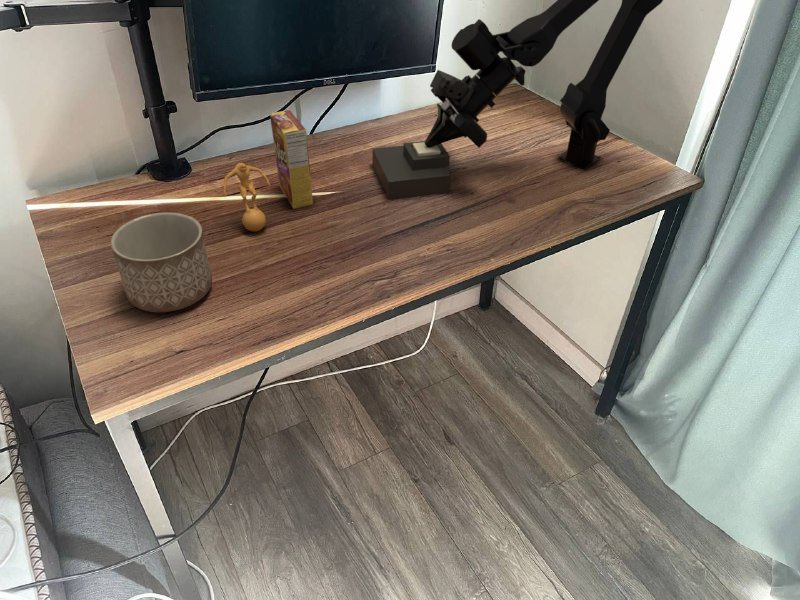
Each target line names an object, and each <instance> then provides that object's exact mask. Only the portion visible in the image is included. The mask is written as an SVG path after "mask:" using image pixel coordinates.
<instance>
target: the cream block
mask: <svg viewBox="0 0 800 600" xmlns="http://www.w3.org/2000/svg"><path fill="white" fill-rule="evenodd" d="M413 150H414V151H415V153H416V155H417V157H418V156H428V155H438V154H440V153H441V151H440V150H439V148H438V146H437V145H436V146H433V147H430V148H428V147H427V146H426V145H425V142H422V143H413Z"/></svg>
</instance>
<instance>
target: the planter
mask: <svg viewBox="0 0 800 600" xmlns="http://www.w3.org/2000/svg"><path fill="white" fill-rule="evenodd" d="M110 247H111V250H112V253H113V254H112V255H113V256H114V261H115V263H116V266H117V270H118V274H119V276H120V279H121V282H122V286H123V289H124V292H125V295H126V298H127V300H128V301H129V302H130V304H132V305H133V306H134V307H135V308H137V309H139V310H142V311H145V312H150V313H167V312H168V313H169V312H174V311H180V310H183V309H186V308H188V307H190V306H193V305H195V304H196V303H197V302H199V301H200V300H202V299H203V298H204V297H205V296H206V295H207V293H209V291H210V289H211V287H212V283H213V277H212V272H211V267H210V262H209V257H208V253H207V247H206V243H205V237H204V232H203V228H202V225H201V223H200V222H199V220H197V219H195V218H194V217H192V216H190V215H187V214H183V213H181V212H180V213H179V212H156V213H150V214H146V215H142V216H138V217H136V218H133V219H131V220H129V221H127V222H125V223H124V224H123V225H121V226H120V227H119V228H118V229H117V230H115V231H114V233H113V235H112V236H111V239H110Z"/></svg>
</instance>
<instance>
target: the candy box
mask: <svg viewBox="0 0 800 600" xmlns="http://www.w3.org/2000/svg"><path fill="white" fill-rule="evenodd" d="M269 119H270V126H271V133H272V139H273V140H272V141H273V147H274V148H273V149H274V155H275V156H274V157H275V163H276V170H277V177H278V184H279V188H280V190H281V191H282V193H283V194H284V196H285V197H286V199H287V201H288V202H289V204H290V205H291V207H292V209H293V210H297V209H300V208H304V207H308V206H309V207H311V206H313V205H314V200H313V199H314V198H313V188H312V178H311V177H312V176H311V167H310V165H311V164H310V155H309V146H308V135H307V129H306V127H305V126H304V125H303V124H302V123H301V122H300V120H298V118H297V117H296V116H295V115H294V113H293V112H292V110H291V109H287V110H282V111H276V112H272V113H269Z"/></svg>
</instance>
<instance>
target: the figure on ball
mask: <svg viewBox="0 0 800 600" xmlns="http://www.w3.org/2000/svg"><path fill="white" fill-rule="evenodd" d="M251 172H258V173H259V174H260V175H261V177H262V178H263V179H264V180H266V183H267V184H268V186H269V187H270V186H271V183H270V179H268V177H267V176H266V175H265V174H264V173H263V171H262V170H261V168H258V167H255V166H252V165H246V163H243V162H238V163H236V165H235V166H234V168H233V169H232V170H231V171H230V172H229V173H228V174H226V175H225V176H224V179H223V191H222V195H223V197H225V198H227V195H228V193H227V191H226V190H227V187H228V179H230V178H232V177H233V176H235V175H236V177H237V178H238V180H239V181H240V183H239V184H238V185H237V188H238V191H239V194H240V196H241V198H242V202H243V204H244V207H245V212H244V213H243V215H242V219H241V220H242V225H243V227H244V228H245V229H246V230H248V231H250V232H259V231H261V230H262V229H263V228H264V227H265V226H266V222H267V219H266V216H265V213H264V212H263V211H262V210H260V209H259V208H258V206H257V204H256V201H255V200H256V198H257V195H258V194H257V191H256V188H255V186H254V185H255V184H254V182H253V181H252V180H251V181H249V180H250V175H251ZM247 190H248V191H247ZM248 192H249V193H250V194H252V195H251V197H250V198H251V203H252V207H253V208H250V207H249V205H248V202H247V201H248V199H247V194H248Z"/></svg>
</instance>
